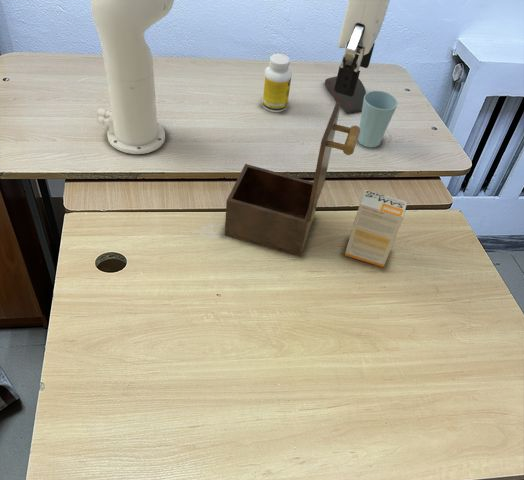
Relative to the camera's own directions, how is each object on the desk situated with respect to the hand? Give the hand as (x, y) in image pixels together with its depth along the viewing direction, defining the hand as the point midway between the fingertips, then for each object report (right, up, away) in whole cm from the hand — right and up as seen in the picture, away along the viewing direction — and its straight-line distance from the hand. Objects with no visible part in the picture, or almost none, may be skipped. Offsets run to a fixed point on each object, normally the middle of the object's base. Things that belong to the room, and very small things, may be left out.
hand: (351, 78), depth 88 cm
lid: (-4, -12, +6) cm, 14 cm away
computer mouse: (+7, +21, +51) cm, 55 cm away
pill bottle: (-12, +16, +45) cm, 50 cm away
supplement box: (+6, -25, +19) cm, 32 cm away
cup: (+11, +6, +41) cm, 43 cm away
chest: (-13, -20, +21) cm, 31 cm away
